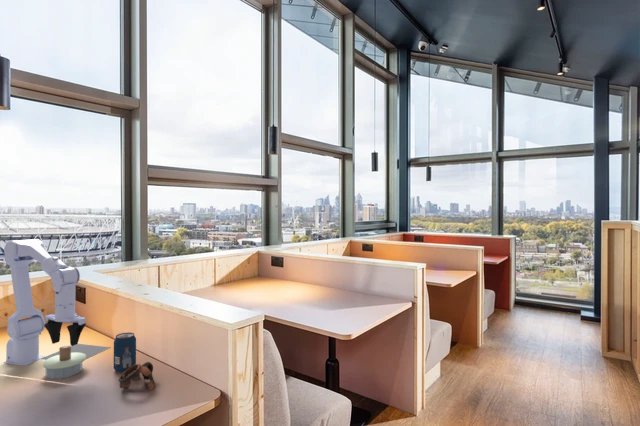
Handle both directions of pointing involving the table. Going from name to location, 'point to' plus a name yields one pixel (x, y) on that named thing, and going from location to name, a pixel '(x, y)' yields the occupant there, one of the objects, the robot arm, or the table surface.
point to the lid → (64, 359)
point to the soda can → (124, 352)
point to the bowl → (63, 372)
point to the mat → (83, 350)
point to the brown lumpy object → (137, 375)
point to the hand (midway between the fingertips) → (65, 343)
